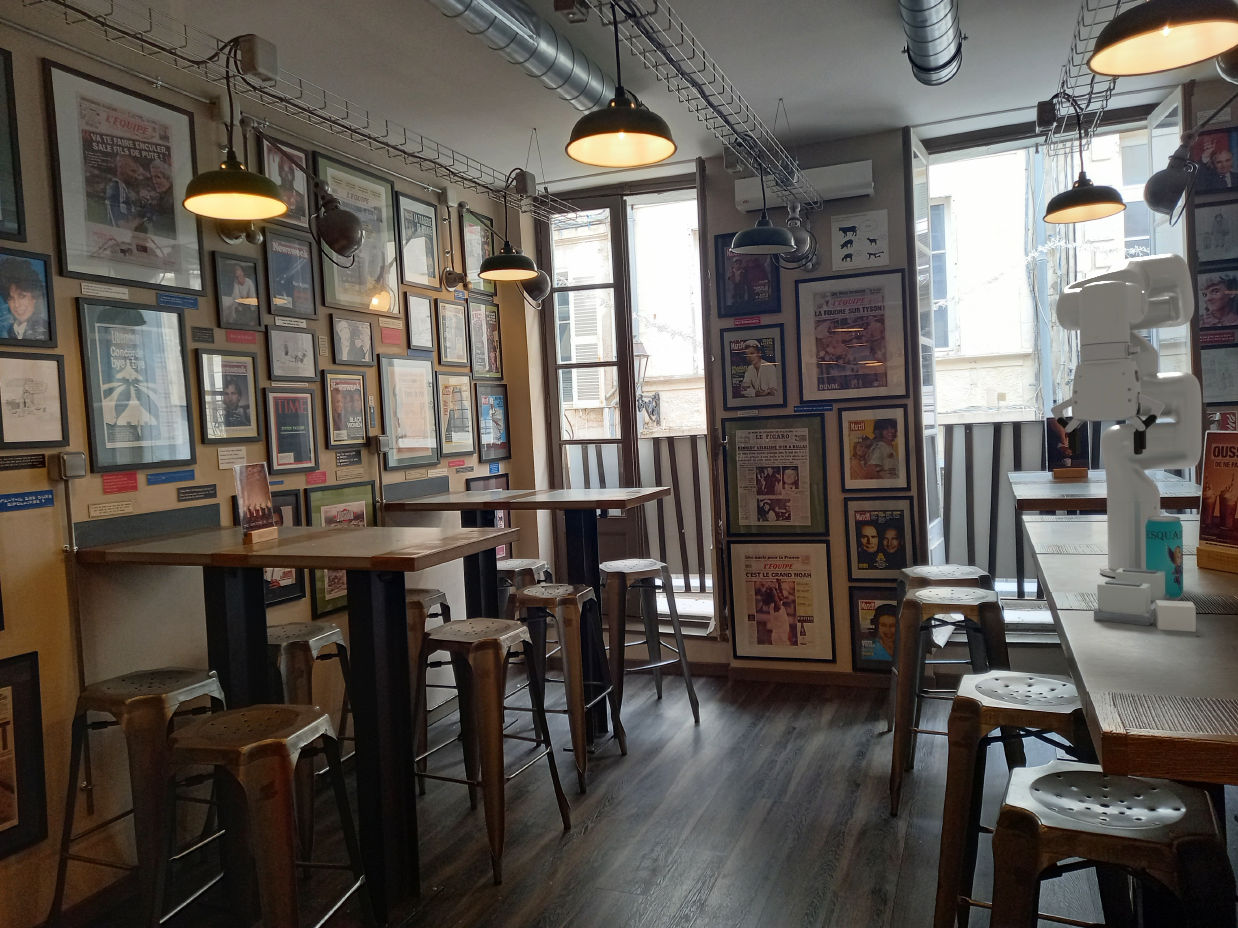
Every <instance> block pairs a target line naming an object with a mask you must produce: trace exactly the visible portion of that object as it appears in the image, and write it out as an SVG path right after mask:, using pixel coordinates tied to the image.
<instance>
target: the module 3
mask: <svg viewBox="0 0 1238 928" xmlns="http://www.w3.org/2000/svg"><path fill="white" fill-rule="evenodd" d="M1196 608H1197V607H1196V606H1195V604H1194V603H1193V601H1188V600H1186V601H1185V600H1183V601H1181V600H1177V601H1165V600H1155V611H1156V619H1155V625H1156V627H1157V630H1162V631H1181V632H1196V630H1197V627H1196V625H1197V619H1196V618H1197V617H1196V616H1197V611H1196V610H1197V609H1196Z"/></svg>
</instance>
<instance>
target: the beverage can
mask: <svg viewBox="0 0 1238 928" xmlns="http://www.w3.org/2000/svg"><path fill="white" fill-rule="evenodd" d="M1147 519H1148V521H1147V523H1146V525H1145V533H1146V569H1150V570H1158V571H1165V593H1169V601H1180V599H1181V597H1182V595H1183V592H1184V551H1183V550H1184V543H1183V539H1184V536H1183V533H1184V532H1183V531H1184V530H1183V528H1184V527H1183V526H1184V525H1183V524H1182V523H1181V517H1180V516H1175V515H1160V516H1149V517H1147Z"/></svg>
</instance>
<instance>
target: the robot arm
mask: <svg viewBox="0 0 1238 928" xmlns="http://www.w3.org/2000/svg"><path fill="white" fill-rule="evenodd" d="M1194 310H1195V298H1194V290H1193V284H1192V278H1191V272H1190V268H1189V266H1188V264H1187V261H1186V260H1185V259H1184V258H1183V257H1182V256H1180V255H1179V254H1175V253H1165V254H1158V255H1157V254H1155V255H1149V256H1148V255H1147V256H1140V257H1131V258H1125V259H1122V260H1119V261H1116V262H1114V263H1113V264H1112V265H1110V267H1108V269H1106V271H1105V272H1103V273H1100V274H1097V275H1094V276H1091V277H1087V278H1085V279H1081V280H1078V281H1075V282H1071V284H1069V285H1066V287H1065V288H1064V289H1062V292H1061V293H1060V294H1059V297H1058V299H1057V302H1056V310H1055V315H1056V320H1057V322H1058V324H1059V326H1061V328H1062V329H1064V330H1066V331H1071V332H1073V331H1075V332H1076V331H1079V361H1080V362H1079V364H1076V366H1075V370H1074V375H1073V381H1072V382H1073V383H1072V390H1071V391H1072V392H1071V397H1070V398H1068V399H1066V400H1065V401H1062V402H1060V403H1059V404H1056V405H1055V406H1053V407H1051V409H1050V412H1051V413H1052V416H1053V417H1054V418H1055V420H1056V422H1057V424H1058V425H1059V426H1060V427H1062V429H1064V431H1066V433H1067V447H1068V451H1071V455H1072V456H1077V455H1080V454H1081V451H1082V450H1081V449H1082V448H1081V447H1082V446H1081V432H1080V431H1079V428H1080V427H1081V425H1082V424H1083V423H1084V422H1102V421H1103V422H1104V421H1105V422H1106V421H1109V422H1110V421H1127V420H1128V423H1121V424H1116V425H1115V424H1114V425H1113V426H1112V425H1111V426H1110V427H1108V428H1107V429H1106V430H1105V431H1104V432H1103V433H1102V435H1101V438H1100V439H1101V440H1100V447H1101V453H1102V458H1103V464H1104V470H1105V480H1106V512H1107V515H1106V516H1107V517H1106V518H1107V519H1106V521H1107V523H1106V525H1107V530H1106V531H1107V564H1105V565H1102V566H1100V567H1099V573H1100V574H1101V575H1104V576H1107V577H1110V578H1111V577H1112V578H1115V572H1116V571H1117V570H1119V569H1120V568H1123V569H1125V568H1136V569H1146V533H1145V525H1146V523H1147V521H1148V519H1147V517H1149V516H1161V493H1160V492H1161V491H1160V489H1159V486H1158V485H1157V484H1156V483H1155V481H1154V480H1152V478H1151V477H1150V476H1149V475H1148V474H1147V473H1146V472H1145V471H1148V470H1184V469H1192V468H1194V467H1196V466H1197V465H1198V464H1199V463H1200V459H1201V455H1202V445H1203V444H1202V390H1201V386H1200V385H1201V384H1200V382H1199V380H1198V378H1197V377H1196V376H1195V375H1194V374H1192V373H1190V372H1186V371H1185V372H1184V371H1173V372H1171V371H1170V372H1159V352H1158V350H1157V348H1155V346H1154V345H1152V343H1151V342H1150V341H1149V340H1148V339H1146V338H1145V337H1144V336H1142V335H1141V334H1140V333H1138V332H1137V331H1138V330H1139V331H1140V330H1151V329H1163V328H1165V329H1166V328H1175V327H1181V326H1185V325H1186V324H1188V323H1189V322H1190V321H1191V320H1192V318H1193V316H1194V312H1195V311H1194ZM1070 407H1071V416H1072V420H1071V421H1070V420H1069V419H1068V418H1066V417H1065V415H1064V411H1065V410H1067V409H1069V408H1070ZM1165 419H1168V420H1173V421H1174V422H1173V421H1172V422H1157V421H1158V420H1165Z"/></svg>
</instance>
